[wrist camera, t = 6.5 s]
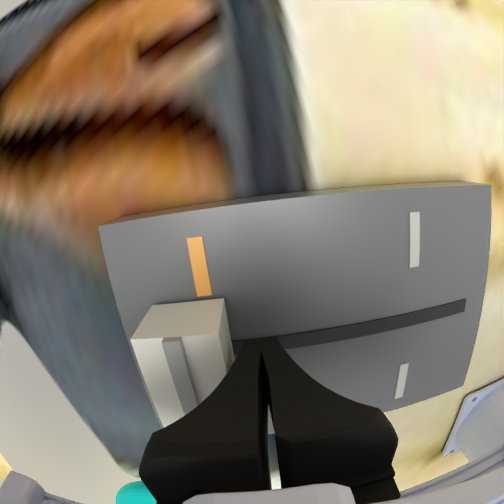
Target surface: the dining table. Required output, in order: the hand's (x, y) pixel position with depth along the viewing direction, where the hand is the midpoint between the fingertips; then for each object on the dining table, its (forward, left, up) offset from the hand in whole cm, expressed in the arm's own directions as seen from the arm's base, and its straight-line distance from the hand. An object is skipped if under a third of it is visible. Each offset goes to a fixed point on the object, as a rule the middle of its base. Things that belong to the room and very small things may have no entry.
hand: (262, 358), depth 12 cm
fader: (+3, 0, -1) cm, 3 cm away
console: (-3, 0, -4) cm, 5 cm away
